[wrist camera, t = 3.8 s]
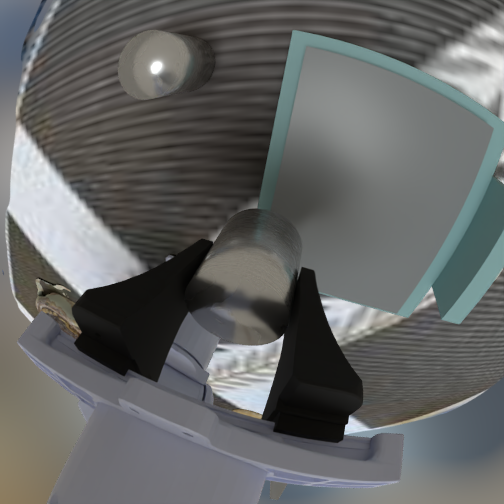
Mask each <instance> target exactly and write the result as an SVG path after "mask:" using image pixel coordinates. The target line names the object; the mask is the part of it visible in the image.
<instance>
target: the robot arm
mask: <svg viewBox="0 0 504 504" xmlns="http://www.w3.org/2000/svg"><path fill="white" fill-rule="evenodd" d="M212 245H213V242H212V241H209V240H205V239H201V240H199V241H197V242H196V243H194V244H193V245H191V246H190V247H188V248H187V249H185V250H184V251H182V252H181V253H179V254H178V255H176V256H172V255H168V256H167V258H166V262H164V263H163V264H161V265H159V266H157V267H155V268H153V269H151V270H149V271H147V272H145V273H143V274H140V275H138V276H135V277H133V278H130V279H127V280H125V281H122V282H118V283H115V284H111V285H108V286H103V287H98V288H93V289H88V290H86V291H85V292H84V294H83V295H82V296H81V297H80V298H79V299H78V301H77V302H76V303H75V304H74V305H73V307H72V315H73V317H74V319H75V321H76V323H77V325H78V326H79V328H80V330H81V332H82V333H81V334H80V335H79V337H78V338H77V339H74V338H73V337H71V336H70V335H68V334H67V333H65V332H64V331H62V330H61V328H60V326H59V324H58V323H57V322H56V321H55V320H54V319H53V318H52V317H50V316H49V315H47V314H46V313H45V312H43V311H41V312H40V313H39V314H38V315H37V317H36V318H35V319H34V320H33V322H32V323H31V324H30V325H29V327H28V328H27V329H26V330H25V332H24V333H23V334H22V335H21V337H20V338H19V339H18V341H17V343H18V345H19V346H20V347H21V348H22V349H23V351H24V352H25V353H26V354H27V355H28V357H29V358H30V359H31V360H32V361H33V362H34V363H35V364H36V366H37V367H39V368H40V369H41V370H42V371H43V372H45V373H46V374H47V375H48V376H49V377H51V378H52V379H53V380H54V381H56V382H57V383H58V384H59V385H61V386H62V387H63V388H64V389H66V390H67V391H69V392H70V393H71V394H72V395H74V396H75V397H77V398H78V399H79V402H78V405H79V408H80V410H81V413H82V415H83V417H84V418H85V421H86V422H87V424H86V426H85V427H84V429H83V431H82V433H81V435H80V436H79V438H78V440H77V442H76V444H75V446H74V448H73V450H72V452H71V454H70V455H69V458H68V459H67V461H66V463H65V465H64V467H63V469H62V471H61V474H60V475H59V477H58V479H57V482H56V484H55V486H54V488H53V490H52V493H51V495H50V497H49V499H48V501H47V504H258V501H259V497H260V494H261V492H262V488H263V485H264V482H265V480H270V481H276V482H282V483H290V484H298V485H307V486H321V487H341V488H372V487H378V486H383V485H388V484H393V483H397V482H399V481H400V476H401V467H402V456H403V440H404V435H403V434H391V433H381V434H377V435H375V436H373V437H372V438H365V437H355V436H347V435H344V431H345V425H347V424H348V419H349V415H351V414H352V413H353V412H355V411H356V410H358V409H359V408H360V407H361V406H362V403H363V385H362V380H361V379H360V378H359V376H358V375H357V374H356V372H355V371H354V370H353V368H352V367H351V366H350V364H349V362H348V361H347V359H346V358H345V356H344V354H343V352H342V351H341V349H340V347H339V345H338V344H337V342H336V339H335V337H334V335H333V333H332V331H331V328H330V326H329V324H328V321H327V318H326V315H325V313H324V309H323V306H322V303H321V299H320V296H319V291H318V287H317V282H316V275H315V271H314V270H312V269H308V268H305V267H302V268H301V271H300V274H299V277H298V280H297V284H296V289H295V294H294V299H293V304H292V309H291V314H290V319H289V324H288V328H287V330H286V332H285V333H284V339H283V346H282V351H281V356H280V360H279V363H278V367H277V371H276V374H275V377H274V381H273V384H272V387H271V391H270V394H269V397H268V400H267V403H266V406H265V409H264V412H263V415H262V418H261V419H258V418H254V417H251V416H247V415H244V414H240V413H237V412H234V411H230V410H227V409H224V408H221V407H218V406H215V405H213V394H212V388H211V386H209V385H208V384H206V381H207V379H208V377H209V373H208V372H206V369H207V367H208V365H209V362H210V360H211V358H212V356H213V353H214V351H215V349H216V346H217V344H218V342H219V339H220V338H219V337H217V336H215V335H213V334H211V333H210V332H208V331H207V330H205V329H204V328H203V327H202V326H200V325H199V324H198V323H197V322H196V321H195V319H194V318H193V317H192V315H191V314H190V312H189V311H188V309H187V306H186V303H185V290H186V288H187V285H188V284H189V282H190V281H191V279H192V277H193V276H194V274H195V272H196V271H197V269H198V268H199V266H200V264H201V263H202V261H203V260H204V258H205V256H206V255H207V253H208V252H209V250H210V248H211V247H212Z"/></svg>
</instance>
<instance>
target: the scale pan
mask: <svg viewBox="0 0 504 504" xmlns="http://www.w3.org/2000/svg"><path fill="white" fill-rule="evenodd" d="M493 130H494V128H493V127H491V126H490V125H489V124H487V123H486V122H484V121H483V120H481V119H480V118H478V117H477V116H475V115H474V114H472V113H471V112H469V111H468V110H466V109H464V108H463V107H461V106H459V105H458V104H456V103H454V102H452V101H451V100H449V99H447V98H445V97H444V96H442V95H440V94H438V93H436V92H434V91H432V90H430V89H428V88H426V87H424V86H422V85H420V84H418V83H416V82H414V81H411V80H409V79H407V78H405V77H402V76H400V75H398V74H395V73H393V72H390V71H388V70H385V69H383V68H380V67H377V66H375V65H372V64H369V63H366V62H363V61H360V60H357V59H354V58H351V57H347V56H344V55H340V54H337V53H333V52H329V51H325V50H321V49H317V48H313V47H308V46H306V50H305V55H304V59H303V64H302V69H301V74H300V78H299V83H298V88H297V92H296V97H295V102H294V106H293V111H292V115H291V120H290V125H289V129H288V134H287V138H286V143H285V148H284V152H283V157H282V161H281V166H280V170H279V175H278V179H277V184H276V188H275V192H274V197H273V201H272V206H271V210H270V211H273V212H276V213H278V214H280V215H282V216H283V217H285V218H286V219H287V220H289V221H290V222H291V223H292V224H293V225H294V227H295V228H296V229H297V231H298V233H299V235H300V237H301V240H302V256H301V262H300V267H299V273H298V277H299V274H300V271H301V268H302V267H305V268H308V269H312V270H314V271H315V275H316V282H317V287H318V291H319V292H321V293H324V294H328V295H331V296H335V297H338V298H342V299H345V300H349V301H352V302H356V303H360V304H363V305H367V306H370V307H374V308H378V309H381V310H385V311H389V312H392V313H396V314H397V313H398V311H399V310H400V309H401V307H402V306H403V305H404V303H405V302H406V300H407V299H408V298H409V296H410V295H411V293H412V292H413V291H414V289H415V288H416V286H417V285H418V283H419V282H420V280H421V279H422V277H423V276H424V274H425V273H426V271H427V270H428V268H429V266H430V265H431V263H432V262H433V260H434V258H435V257H436V255H437V254H438V252H439V250H440V248H441V247H442V245H443V243H444V242H445V240H446V238H447V236H448V234H449V233H450V231H451V229H452V227H453V225H454V223H455V221H456V220H457V218H458V216H459V214H460V212H461V210H462V208H463V206H464V203H465V201H466V199H467V197H468V195H469V193H470V191H471V188H472V186H473V184H474V181H475V179H476V177H477V174H478V172H479V169H480V167H481V164H482V162H483V159H484V156H485V154H486V151H487V148H488V145H489V142H490V139H491V136H492V133H493ZM297 280H298V278H297Z"/></svg>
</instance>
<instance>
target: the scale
mask: <svg viewBox="0 0 504 504" xmlns="http://www.w3.org/2000/svg"><path fill="white" fill-rule="evenodd" d="M306 46H308V47H313V48H317V49H321V50H325V51H329V52H333V53H337V54H340V55H344V56H347V57H351V58H354V59H357V60H360V61H363V62H366V63H369V64H372V65H375V66H377V67H380V68H383V69H385V70H388V71H390V72H393V73H395V74H398V75H400V76H402V77H405V78H407V79H409V80H411V81H414V82H416V83H418V84H420V85H422V86H424V87H426V88H428V89H430V90H432V91H434V92H436V93H438V94H440V95H442V96H444V97H445V98H447V99H449V100H451V101H452V102H454V103H456V104H458V105H459V106H461V107H463V108H464V109H466V110H468V111H469V112H471V113H472V114H474V115H475V116H477V117H478V118H480V119H481V120H483V121H484V122H486V123H487V124H489V125H490V126H491V127H493V128H494V130H493V133H492V136H491V139H490V142H489V145H488V148H487V151H486V154H485V156H484V159H483V162H482V164H481V167H480V169H479V172H478V174H477V177H476V179H475V181H474V184H473V186H472V188H471V191H470V193H469V195H468V197H467V199H466V201H465V203H464V206H463V208H462V210H461V212H460V214H459V216H458V218H457V220H456V221H455V223H454V225H453V227H452V229H451V231H450V233H449V234H448V236H447V238H446V240H445V242H444V243H443V245H442V247H441V248H440V250H439V252H438V254H437V255H436V257H435V258H434V260H433V262H432V263H431V265H430V266H429V268H428V270H427V271H426V273H425V274H424V276H423V277H422V279H421V280H420V282H419V283H418V285H417V286H416V288H415V289H414V291H413V292H412V293H411V295H410V296H409V298H408V299H407V300H406V302H405V303H404V305H403V306H402V307H401V309H400V310H399V311H398V313H397V314H396V313H392V312H389V311H385V310H381V309H378V308H374V307H370V306H367V305H363V304H360V303H356V302H352V301H349V300H345V299H342V298H338V297H335V296H331V295H328V294H324V293H321V292H319V293H321V294H324V295H328V296H331V297H335V298H338V299H342V300H345V301H349V302H352V303H356V304H360V305H363V306H367V307H370V308H374V309H378V310H381V311H385V312H389V313H392V314H396V315H400V316H404V317H407V318H408V317H409V316H410V315H411V313H412V312H413V311H414V309H415V308H416V307H417V306H418V304H419V303H420V302H421V300H422V299H423V297H424V296H425V295H426V293H427V292H428V291H429V289H430V288H431V286H432V288H433V291H434V295H435V298H436V301H437V305H438V308H439V312H440V316H441V319H442V320H445V321H449V322H453V323H456V324H460V323H461V322H462V321H463V319H464V318H465V317H466V316H467V315H468V314H469V312H470V311H471V310H472V309H473V308H474V306H475V305H476V304H477V303H478V301H479V300H480V299H481V298H482V296H483V295H484V294H485V292H486V291H487V290H488V288H489V287H490V286H491V284H492V283H493V282H494V280H495V279H496V278H497V277H498V276H499V274H500V273H501V271H502V269H503V267H504V184H503V183H502V182H500V181H499V180H498V179H497V178H496V177H494V176H493V174H494V172H495V169H496V166H497V164H498V161H499V159H500V156H501V153H502V150H503V147H504V122H503V121H502V120H501V119H499V118H498V117H497V116H495V115H494V114H493V113H491V112H490V111H488V110H487V109H486V108H484V107H483V106H481V105H480V104H478V103H477V102H475V101H474V100H472V99H471V98H469V97H468V96H466V95H464V94H463V93H461V92H459V91H458V90H456V89H454V88H453V87H451V86H449V85H447V84H446V83H444V82H442V81H440V80H438V79H436V78H434V77H432V76H430V75H429V74H426V73H424V72H422V71H420V70H418V69H416V68H414V67H412V66H410V65H407V64H405V63H403V62H400V61H398V60H396V59H393V58H391V57H388V56H385V55H383V54H380V53H377V52H375V51H372V50H369V49H366V48H363V47H360V46H357V45H353V44H350V43H347V42H343V41H340V40H336V39H332V38H328V37H324V36H320V35H315V34H311V33H306V32H301V31H296V30H293V33H292V37H291V42H290V47H289V52H288V57H287V62H286V67H285V72H284V77H283V82H282V87H281V92H280V97H279V102H278V107H277V112H276V117H275V122H274V127H273V132H272V137H271V142H270V147H269V152H268V157H267V162H266V167H265V172H264V177H263V182H262V187H261V193H260V198H259V203H258V208H257V209H266V210H271V206H272V201H273V197H274V192H275V188H276V184H277V179H278V175H279V170H280V166H281V161H282V157H283V152H284V148H285V143H286V138H287V134H288V129H289V125H290V120H291V115H292V111H293V106H294V102H295V97H296V92H297V88H298V83H299V78H300V74H301V69H302V64H303V59H304V55H305V50H306Z"/></svg>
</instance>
